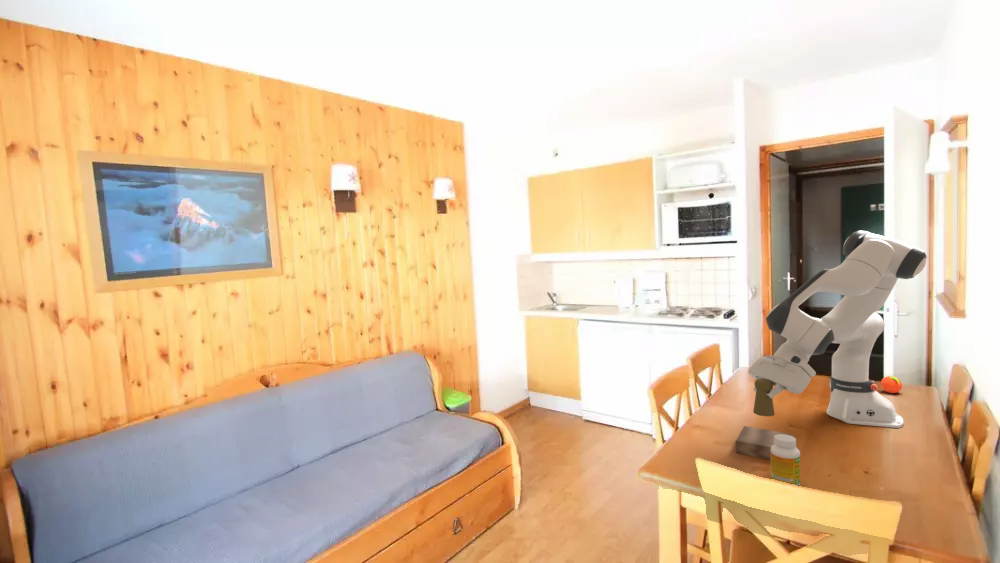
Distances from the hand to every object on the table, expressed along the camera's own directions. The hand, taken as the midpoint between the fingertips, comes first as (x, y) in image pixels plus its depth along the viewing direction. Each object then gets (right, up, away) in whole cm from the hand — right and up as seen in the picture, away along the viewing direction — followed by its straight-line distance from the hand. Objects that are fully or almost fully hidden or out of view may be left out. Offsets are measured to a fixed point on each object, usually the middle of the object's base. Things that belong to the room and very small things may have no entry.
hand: (762, 394), depth 154 cm
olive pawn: (+1, -6, +1) cm, 6 cm away
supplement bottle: (-4, -20, -19) cm, 28 cm away
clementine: (+80, -11, +47) cm, 93 cm away
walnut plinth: (+1, -18, +2) cm, 18 cm away
